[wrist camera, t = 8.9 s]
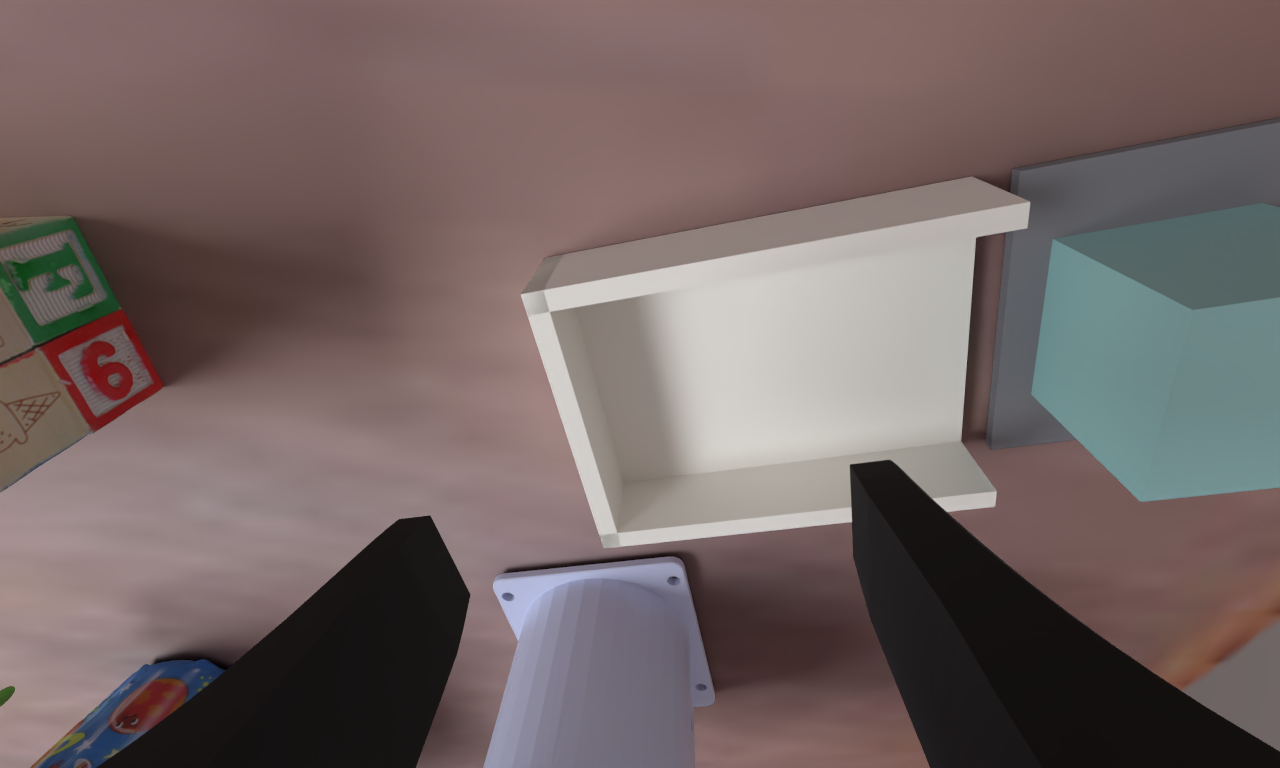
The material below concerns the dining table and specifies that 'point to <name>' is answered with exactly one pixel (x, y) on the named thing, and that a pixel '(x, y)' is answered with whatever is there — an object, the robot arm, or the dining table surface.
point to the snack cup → (127, 712)
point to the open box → (769, 361)
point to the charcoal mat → (1100, 200)
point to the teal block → (1169, 351)
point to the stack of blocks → (60, 345)
